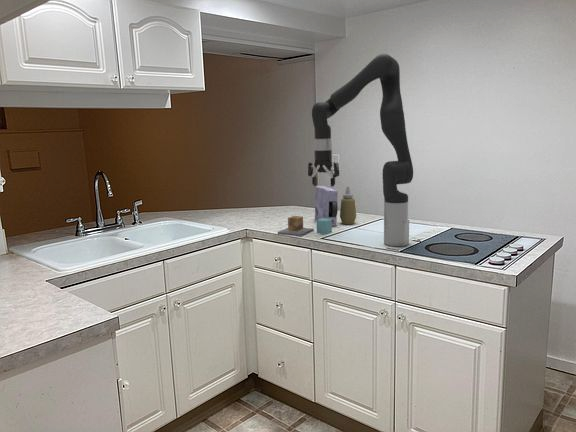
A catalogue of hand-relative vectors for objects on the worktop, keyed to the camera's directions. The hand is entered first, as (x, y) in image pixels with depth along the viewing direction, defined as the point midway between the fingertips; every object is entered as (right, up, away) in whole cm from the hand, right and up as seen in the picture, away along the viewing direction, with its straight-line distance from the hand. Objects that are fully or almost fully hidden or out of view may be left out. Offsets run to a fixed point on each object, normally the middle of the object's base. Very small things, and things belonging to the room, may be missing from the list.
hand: (323, 186), depth 206 cm
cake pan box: (+3, -17, +23) cm, 29 cm away
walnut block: (-12, -20, +6) cm, 24 cm away
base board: (-12, -21, +6) cm, 25 cm away
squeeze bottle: (+14, -17, +22) cm, 31 cm away
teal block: (+1, -21, +4) cm, 21 cm away
